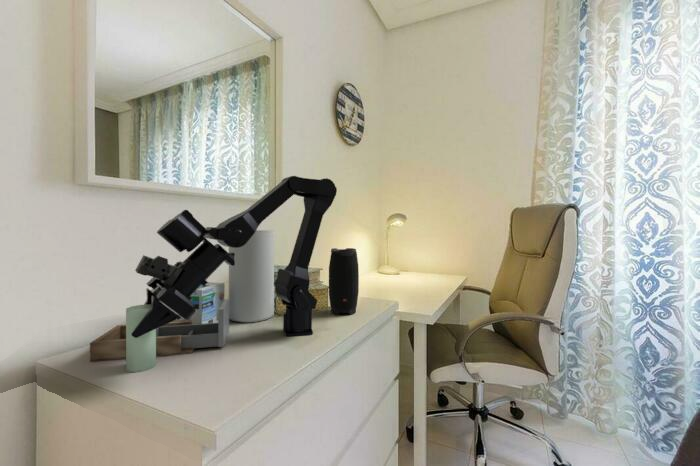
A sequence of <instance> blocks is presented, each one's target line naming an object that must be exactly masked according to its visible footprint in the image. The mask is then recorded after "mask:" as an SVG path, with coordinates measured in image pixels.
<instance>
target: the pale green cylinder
mask: <svg viewBox="0 0 700 466" xmlns="http://www.w3.org/2000/svg"><path fill="white" fill-rule="evenodd" d="M151 306H152V305H151V304H146V305H144V304H137V305H131V306H129V307H127V308H126V309H125V325H126V359H125V361H126V365H125V366H126V367H125V368H126V369H125V370H126V372H128V373H139V372H145V371H147V370H150V369H152V368H154V367H156V365H157V356H156V329H154V330H152V331H150V332H148V333H146V334H144V335H142V336H140V337H138V338H135V337H133V336H132V335H131V334H132V332H133V331H134V329H135V328H136V327H137V325H138V324H139V323H140V321H141V320H142V319H143V318H144V316H145V315H146V314H147V312H148V311H149V310H150V309H151Z"/></svg>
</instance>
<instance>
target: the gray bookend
mask: <svg viewBox="0 0 700 466" xmlns="http://www.w3.org/2000/svg"><path fill="white" fill-rule="evenodd" d="M229 334H230V318H229V298H227V299H226V298H224V301H223V303H222V305H221V306H220V308H219V310H218V323H206V324H190V325H174V326H161V327H158V328H156V337H159V336H173V335H181V349H191V348H195V349H201V348H202V349H204V348H212V347H213V348H214V347H218V348H223V347H224V346H225V344H226V341H227V339H228V336H229Z"/></svg>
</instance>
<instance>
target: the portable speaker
mask: <svg viewBox="0 0 700 466" xmlns="http://www.w3.org/2000/svg"><path fill="white" fill-rule="evenodd" d="M357 253H358V252H357V249H356V248H353V247H352V248H351V247H350V248H349V247H348V248H342V249H338V247H337V248H334V247H333V248H331V250H330V257H329V258H330V259H329V265H328V297H329V298H328V299H329V305H330V314H333V315H335V316H336V315H337V316H338V315H339V314H340V313H347V314H348V315H353V314H352V313H355V314H356V312H357V307H358V299H359V289H360V288H359V285H360V284H359V282H360V281H359V280H360V279H359V278H360V276H359V259H358V254H357Z"/></svg>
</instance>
